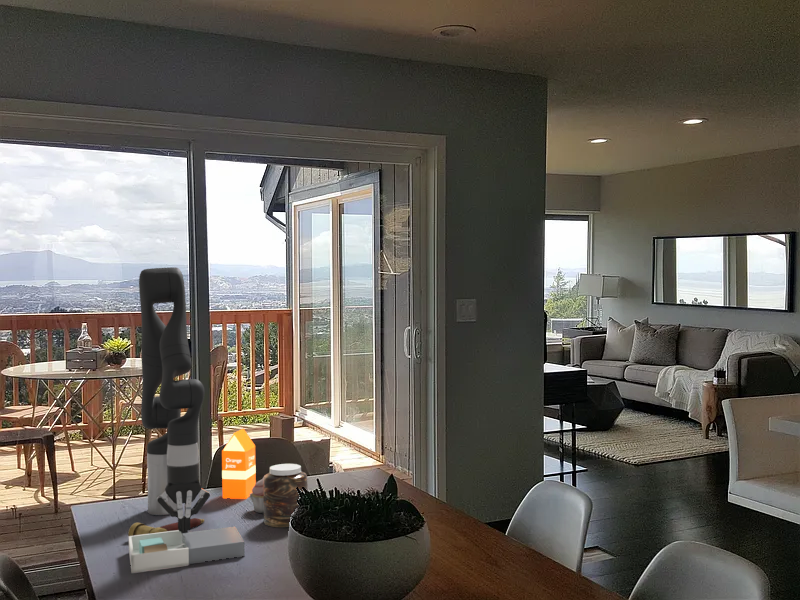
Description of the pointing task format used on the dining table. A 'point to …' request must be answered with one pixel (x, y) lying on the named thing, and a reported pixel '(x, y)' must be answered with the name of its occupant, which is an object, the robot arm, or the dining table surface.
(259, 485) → the cupcake
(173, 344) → the robot arm
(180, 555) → the tray
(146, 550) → the thick tan wooden block
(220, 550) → the board
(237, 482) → the orange juice
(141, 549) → the seafoam green cuboid
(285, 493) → the jar
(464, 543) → the dining table surface
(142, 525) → the gavel
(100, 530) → the dining table surface
